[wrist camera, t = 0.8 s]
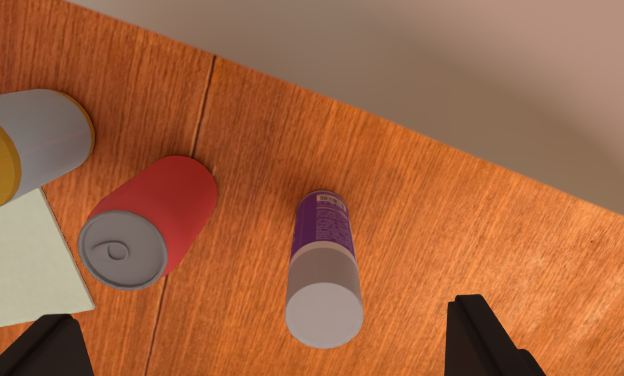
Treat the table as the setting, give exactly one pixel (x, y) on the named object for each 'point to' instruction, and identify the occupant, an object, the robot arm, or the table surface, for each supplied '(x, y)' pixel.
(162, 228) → the beer can
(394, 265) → the table surface
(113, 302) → the table surface
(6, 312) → the mat
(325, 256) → the container
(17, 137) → the bottle
